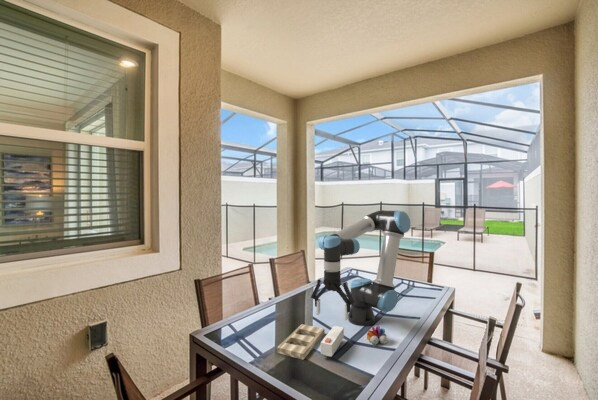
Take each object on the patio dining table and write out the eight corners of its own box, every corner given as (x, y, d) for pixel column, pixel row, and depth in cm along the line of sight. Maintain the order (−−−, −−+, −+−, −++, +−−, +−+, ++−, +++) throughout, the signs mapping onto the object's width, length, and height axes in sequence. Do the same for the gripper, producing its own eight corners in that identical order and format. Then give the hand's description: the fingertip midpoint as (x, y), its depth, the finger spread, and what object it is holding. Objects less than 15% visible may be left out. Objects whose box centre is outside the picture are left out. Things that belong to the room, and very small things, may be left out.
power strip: (343, 342, 135) (343, 326, 135) (331, 361, 119) (331, 343, 119) (334, 339, 137) (333, 324, 137) (320, 358, 121) (320, 341, 121)
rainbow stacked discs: (364, 337, 140) (364, 322, 140) (383, 336, 141) (383, 322, 141) (370, 346, 131) (370, 330, 131) (390, 345, 132) (389, 329, 132)
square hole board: (324, 333, 144) (324, 328, 144) (303, 359, 120) (303, 353, 120) (301, 328, 149) (301, 324, 149) (277, 352, 126) (277, 347, 126)
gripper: (361, 271, 126) (361, 318, 126) (310, 265, 137) (310, 309, 137) (357, 275, 119) (357, 324, 119) (304, 268, 130) (304, 314, 130)
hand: (332, 316), depth 128 cm, fingers open, 13 cm apart
